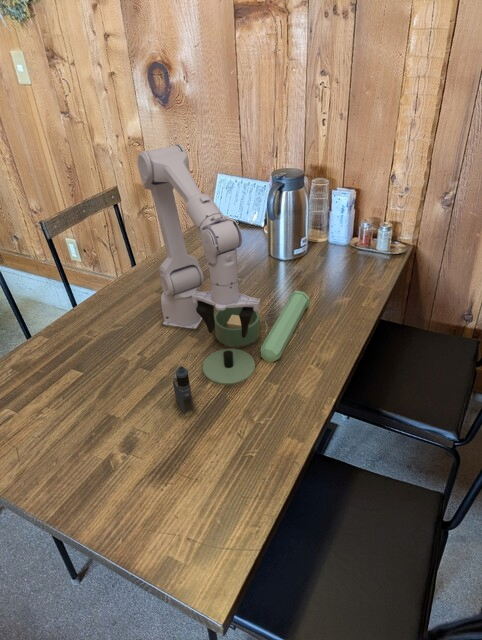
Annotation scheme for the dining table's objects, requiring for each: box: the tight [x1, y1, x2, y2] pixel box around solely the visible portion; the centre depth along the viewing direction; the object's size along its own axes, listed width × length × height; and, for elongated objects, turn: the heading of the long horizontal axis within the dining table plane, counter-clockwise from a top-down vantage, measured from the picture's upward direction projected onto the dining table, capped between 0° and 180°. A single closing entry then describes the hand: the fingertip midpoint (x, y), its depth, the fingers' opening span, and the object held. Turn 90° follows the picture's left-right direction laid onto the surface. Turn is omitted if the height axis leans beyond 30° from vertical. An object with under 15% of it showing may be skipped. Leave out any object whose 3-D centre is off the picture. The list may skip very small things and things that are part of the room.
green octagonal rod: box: [260, 290, 311, 363], centre depth 111 cm, size 6×6×25 cm
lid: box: [202, 348, 256, 386], centre depth 101 cm, size 12×12×4 cm
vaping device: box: [172, 365, 195, 415], centre depth 90 cm, size 3×5×12 cm, turn 28°
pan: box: [214, 307, 261, 348], centre depth 112 cm, size 11×11×6 cm
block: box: [226, 315, 242, 329], centre depth 112 cm, size 4×4×4 cm
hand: (228, 332), depth 99 cm, fingers open, 7 cm apart
